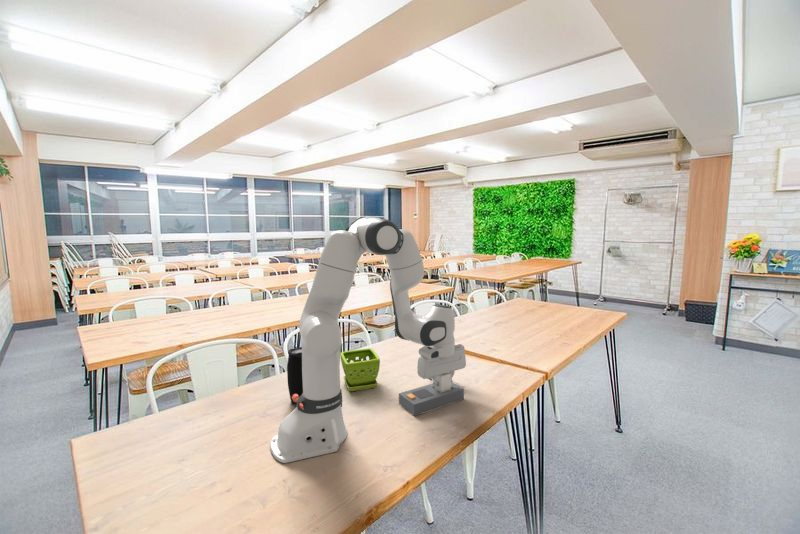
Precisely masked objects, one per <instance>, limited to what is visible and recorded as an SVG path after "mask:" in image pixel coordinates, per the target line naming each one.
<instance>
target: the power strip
mask: <svg viewBox="0 0 800 534" xmlns="http://www.w3.org/2000/svg"><path fill="white" fill-rule="evenodd" d="M463 400H465V389H464V388H463V387H461V386H459V385H458V384H456V383H454V382H453V381H452V382H451V390H448V391H445V392H442V393H441V392H439V391H438V390H436V389H435V388H434V386H433V383H430V384H429V383H428V384H425V385H423V386H419V387H416V388H412V389H409V390H405V391H402V392H398V405H400V406H401V407H402V408H404V409H405V410H406V411H408V412H409V413H410V414H411V415H413V416H414V417H415V416H418V414H419V415H422V414H425V413H426V412H431V411H434V410H436V409H439V408H442V407H445V406H448V405H451V404H454V403H457V402H460V401H463ZM421 413H422V414H421Z"/></svg>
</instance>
